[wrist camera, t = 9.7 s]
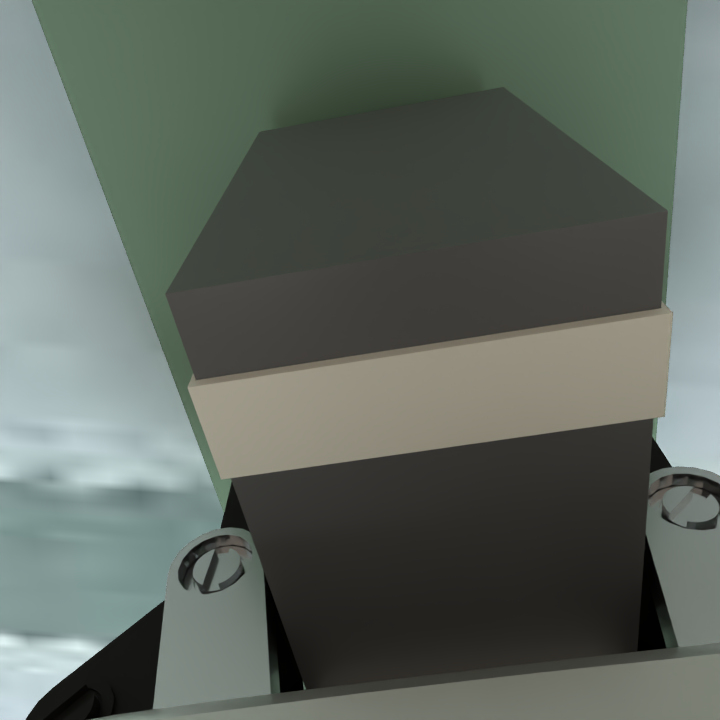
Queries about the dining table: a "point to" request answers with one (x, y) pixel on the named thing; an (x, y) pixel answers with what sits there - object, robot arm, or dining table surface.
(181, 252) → the header board
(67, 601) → the dining table surface
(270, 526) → the block
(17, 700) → the dining table surface
